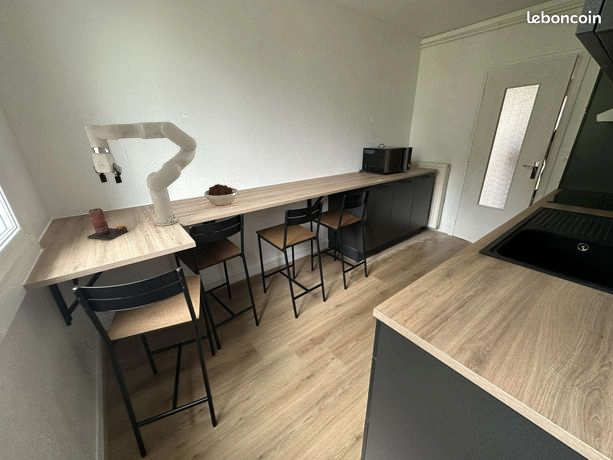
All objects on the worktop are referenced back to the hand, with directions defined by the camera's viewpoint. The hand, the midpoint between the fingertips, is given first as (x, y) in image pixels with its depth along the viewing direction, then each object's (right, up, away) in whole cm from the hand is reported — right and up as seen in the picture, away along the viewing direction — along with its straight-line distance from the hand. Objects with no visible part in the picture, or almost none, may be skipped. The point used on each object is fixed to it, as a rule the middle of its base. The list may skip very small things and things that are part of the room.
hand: (111, 182), depth 139 cm
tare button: (+1, -26, +6) cm, 26 cm away
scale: (-5, -29, +4) cm, 30 cm away
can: (-7, -28, +3) cm, 29 cm away
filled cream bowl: (+43, -6, +57) cm, 71 cm away
